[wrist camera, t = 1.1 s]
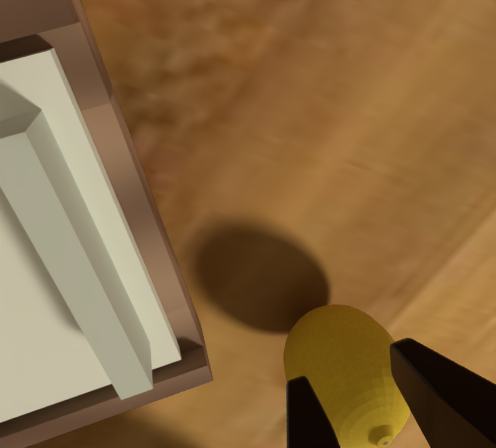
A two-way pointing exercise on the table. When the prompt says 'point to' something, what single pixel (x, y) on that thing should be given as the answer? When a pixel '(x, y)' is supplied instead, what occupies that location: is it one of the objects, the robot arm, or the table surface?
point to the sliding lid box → (132, 204)
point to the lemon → (348, 373)
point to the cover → (66, 255)
